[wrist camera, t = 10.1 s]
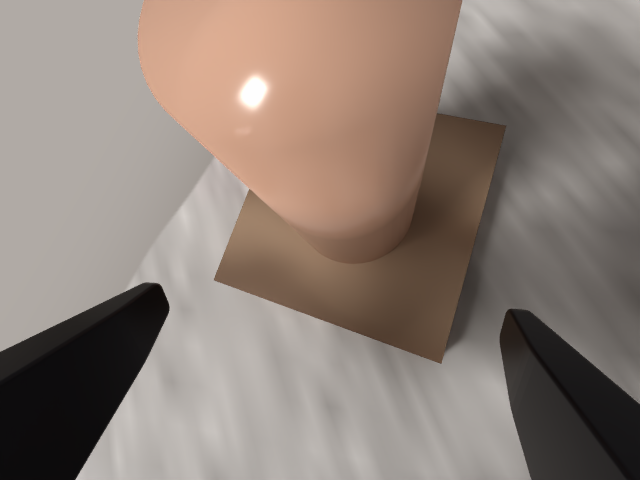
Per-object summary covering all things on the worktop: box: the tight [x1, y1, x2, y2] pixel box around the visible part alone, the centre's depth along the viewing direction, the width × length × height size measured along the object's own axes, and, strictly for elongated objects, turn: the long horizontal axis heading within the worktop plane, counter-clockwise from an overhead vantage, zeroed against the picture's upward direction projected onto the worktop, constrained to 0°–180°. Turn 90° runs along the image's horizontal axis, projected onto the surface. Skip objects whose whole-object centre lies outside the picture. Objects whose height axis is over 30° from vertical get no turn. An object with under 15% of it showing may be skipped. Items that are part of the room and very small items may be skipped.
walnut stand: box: [214, 113, 506, 364], centre depth 18 cm, size 12×12×2 cm
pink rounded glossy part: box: [138, 0, 462, 264], centre depth 12 cm, size 6×6×12 cm
